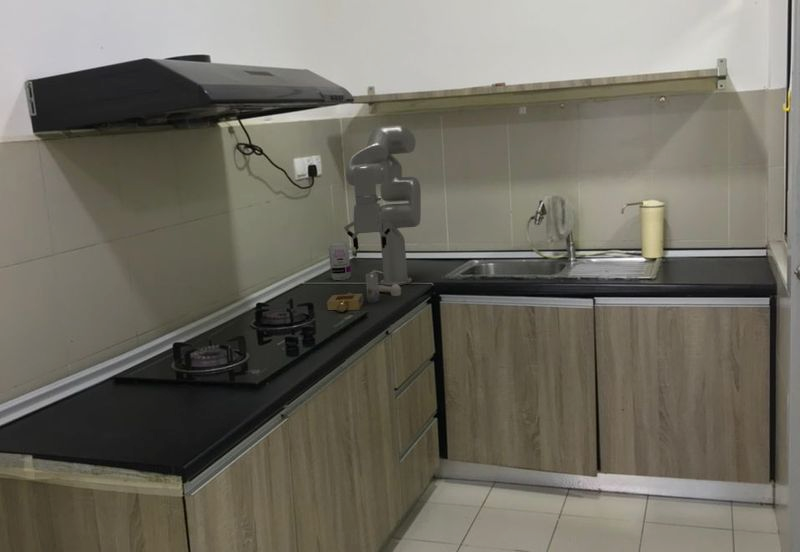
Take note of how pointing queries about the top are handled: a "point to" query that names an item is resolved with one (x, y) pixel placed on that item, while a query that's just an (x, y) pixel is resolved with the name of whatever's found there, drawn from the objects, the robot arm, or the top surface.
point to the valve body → (345, 302)
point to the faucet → (393, 289)
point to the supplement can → (339, 261)
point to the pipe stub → (372, 287)
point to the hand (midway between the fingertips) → (370, 248)
